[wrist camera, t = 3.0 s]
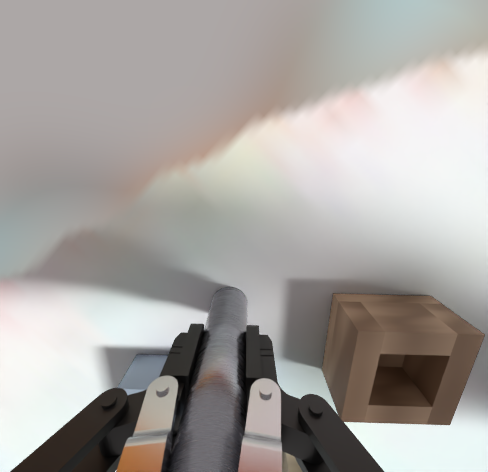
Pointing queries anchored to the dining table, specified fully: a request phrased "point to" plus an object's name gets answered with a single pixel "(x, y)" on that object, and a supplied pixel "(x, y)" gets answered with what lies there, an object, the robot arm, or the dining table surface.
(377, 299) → the wooden square socket
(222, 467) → the rod
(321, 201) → the dining table surface
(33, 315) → the dining table surface
